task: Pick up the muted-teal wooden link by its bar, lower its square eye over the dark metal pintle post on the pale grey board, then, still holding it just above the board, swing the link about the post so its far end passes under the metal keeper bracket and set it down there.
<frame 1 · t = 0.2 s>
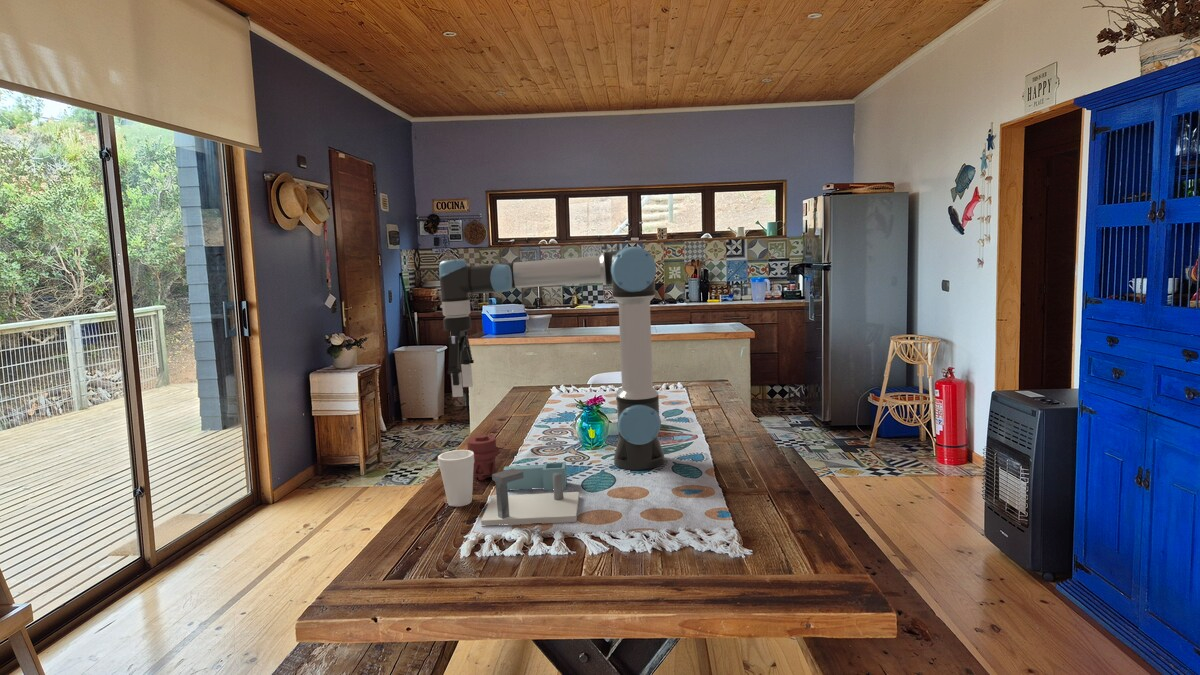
hand: (463, 391, 203), 27 cm above the table, fingers open, 13 cm apart
board: (532, 511, 184), on the table
foam cup: (459, 502, 194), on the table
link: (505, 489, 202), on the table
mechanical component: (484, 477, 214), on the table
keeper: (511, 520, 179), resting on board
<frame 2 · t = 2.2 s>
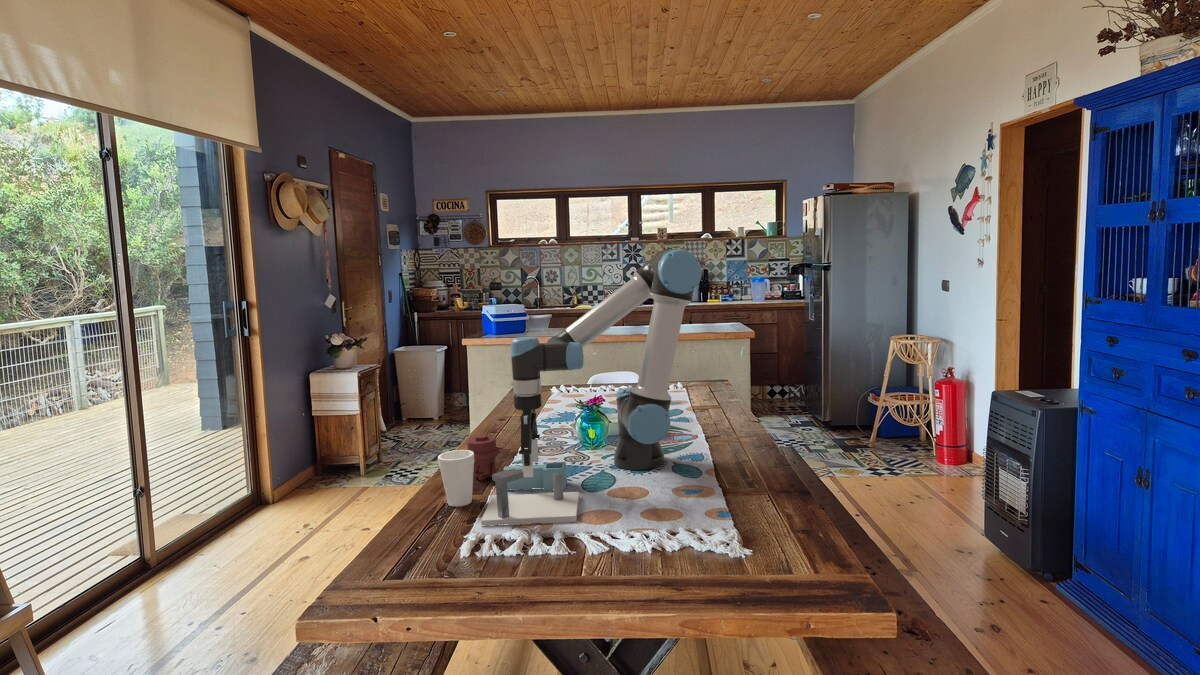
hand: (530, 469, 201), 5 cm above the table, fingers open, 13 cm apart
nothing on the table moved.
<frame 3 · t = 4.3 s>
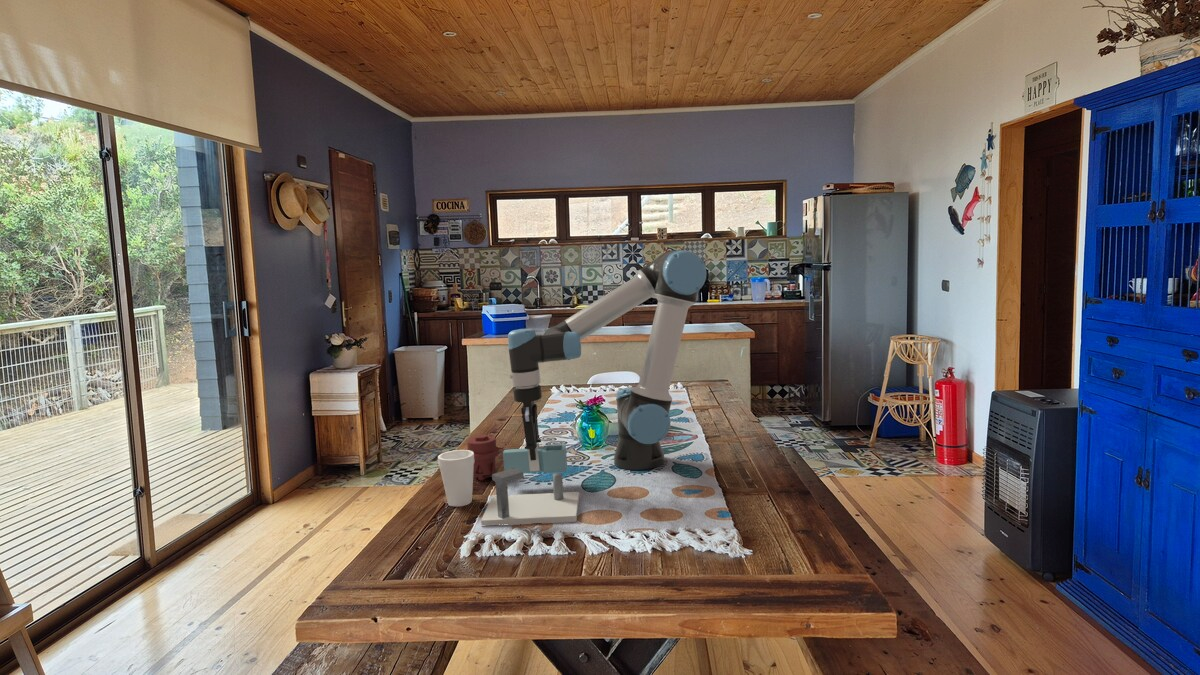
hand: (535, 468, 201), 5 cm above the table, fingers closed on link, 3 cm apart
link: (505, 472, 201), point 5 cm above the table, touching gripper
everything else where it was.
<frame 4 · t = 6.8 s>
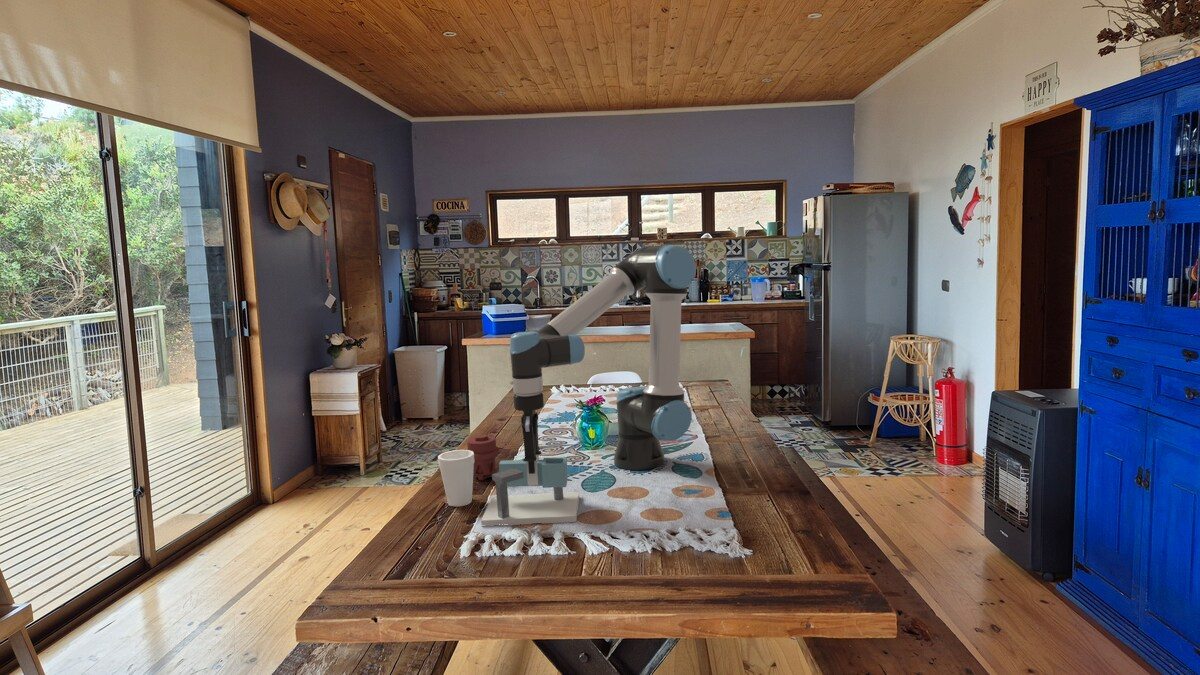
hand: (533, 482, 187), 6 cm above the table, fingers closed on link, 3 cm apart
link: (501, 484, 187), point 6 cm above the table, touching gripper
everything else where it was.
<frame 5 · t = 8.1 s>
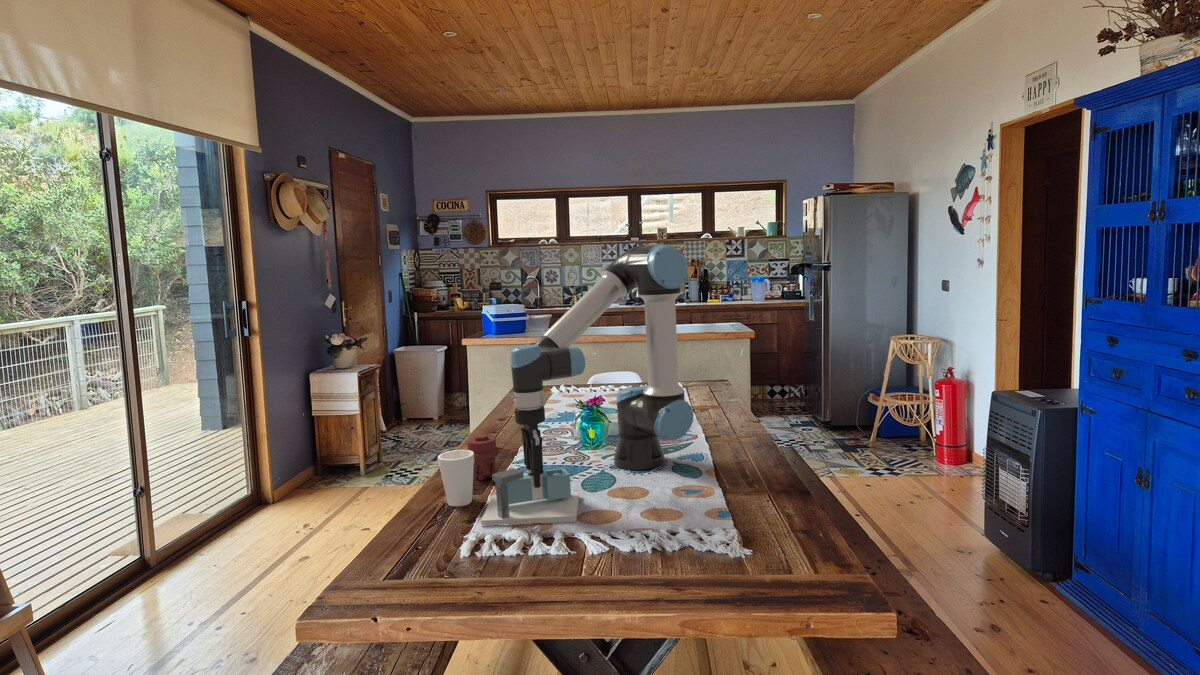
hand: (535, 496, 185), 3 cm above the table, fingers closed on link, 3 cm apart
link: (502, 503, 183), point 3 cm above the table, touching gripper
everything else where it was.
when the fingers open (3 cm above the table, at t = 9.3 s): link stays where it is, resting on board.
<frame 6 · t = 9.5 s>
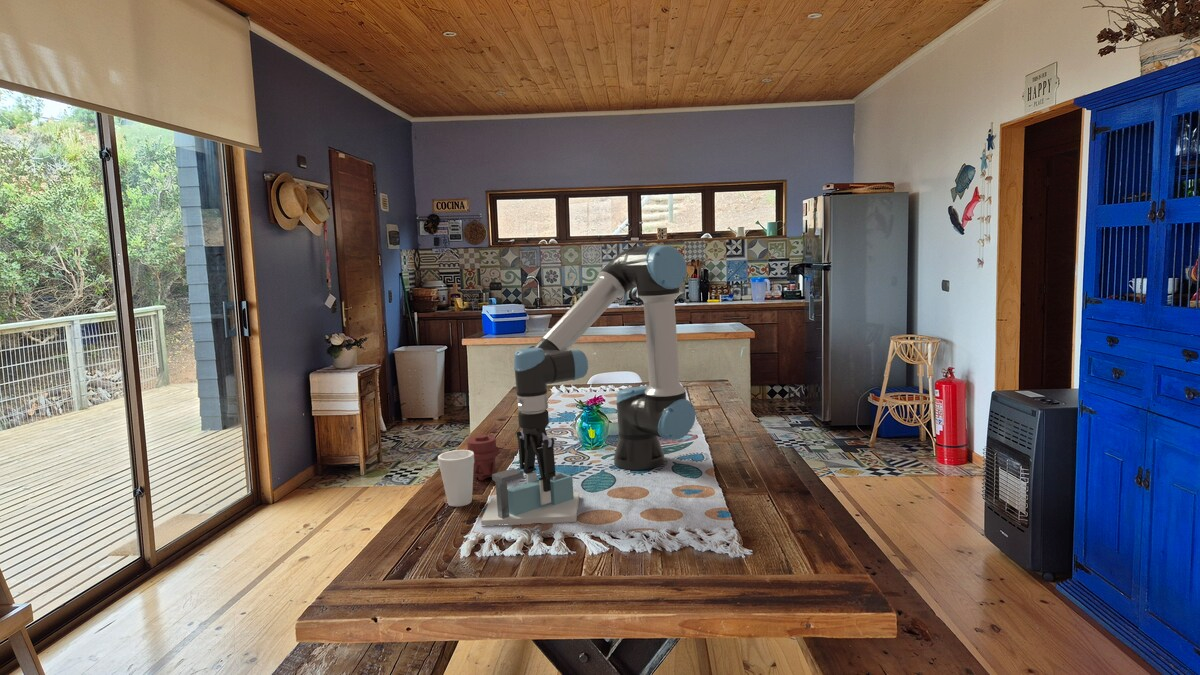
hand: (539, 500, 183), 3 cm above the table, fingers open, 5 cm apart
link: (511, 514, 178), point 1 cm above the table, touching board
everything else where it was.
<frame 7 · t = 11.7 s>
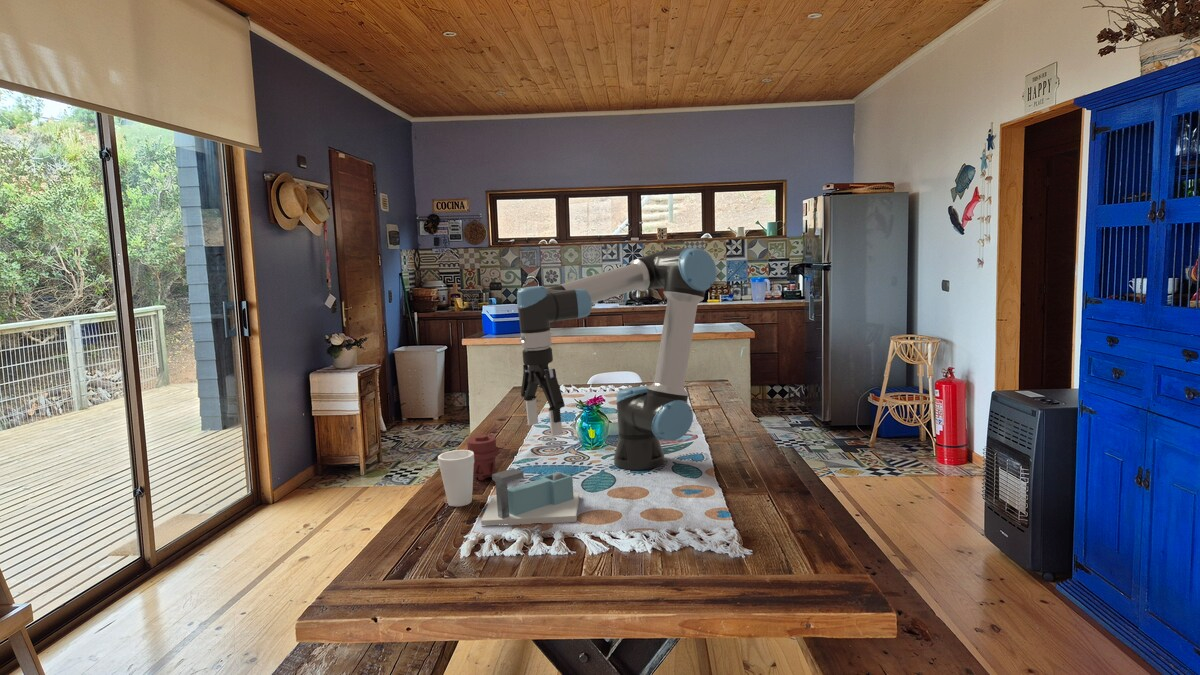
hand: (544, 429, 186), 20 cm above the table, fingers open, 13 cm apart
nothing on the table moved.
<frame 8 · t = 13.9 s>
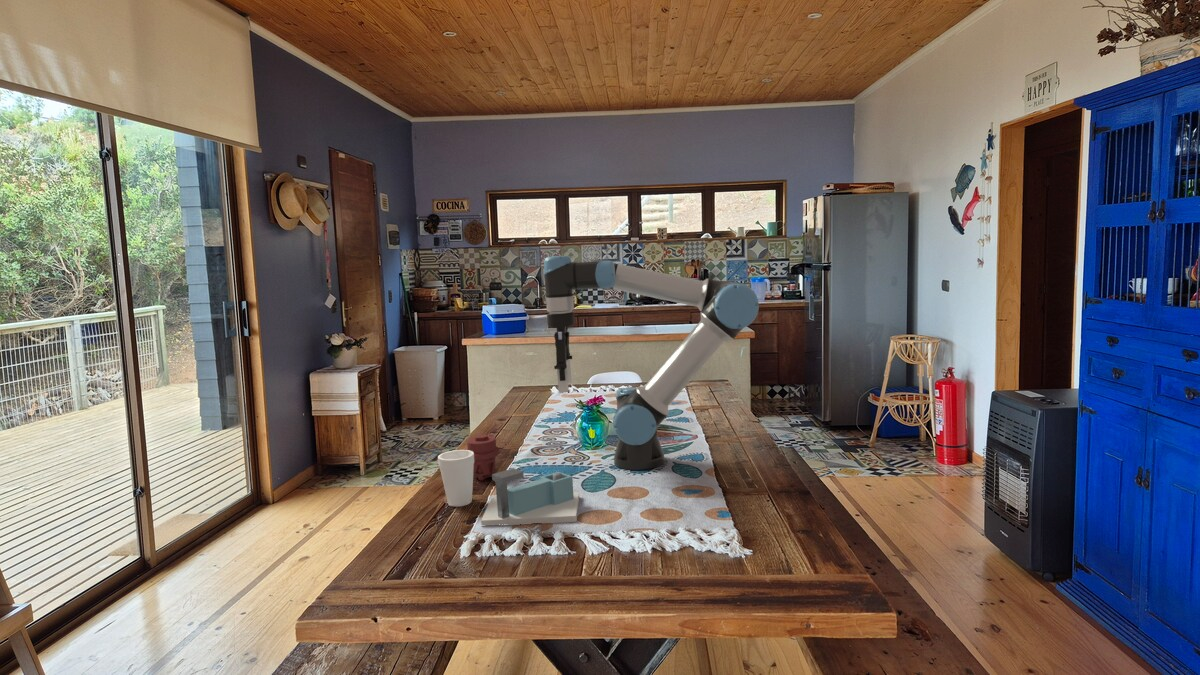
hand: (565, 387, 204), 27 cm above the table, fingers open, 13 cm apart
nothing on the table moved.
at the end: link 0.1 cm from the keeper (horizontally); link point 1.5 cm above the table; link tilted 0° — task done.
